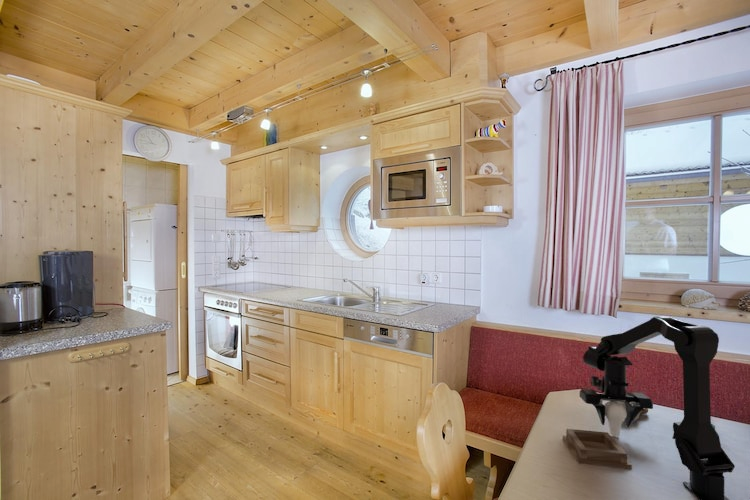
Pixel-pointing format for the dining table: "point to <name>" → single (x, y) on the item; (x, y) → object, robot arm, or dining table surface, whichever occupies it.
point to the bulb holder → (596, 448)
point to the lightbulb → (615, 416)
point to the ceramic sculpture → (639, 412)
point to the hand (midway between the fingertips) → (614, 425)
